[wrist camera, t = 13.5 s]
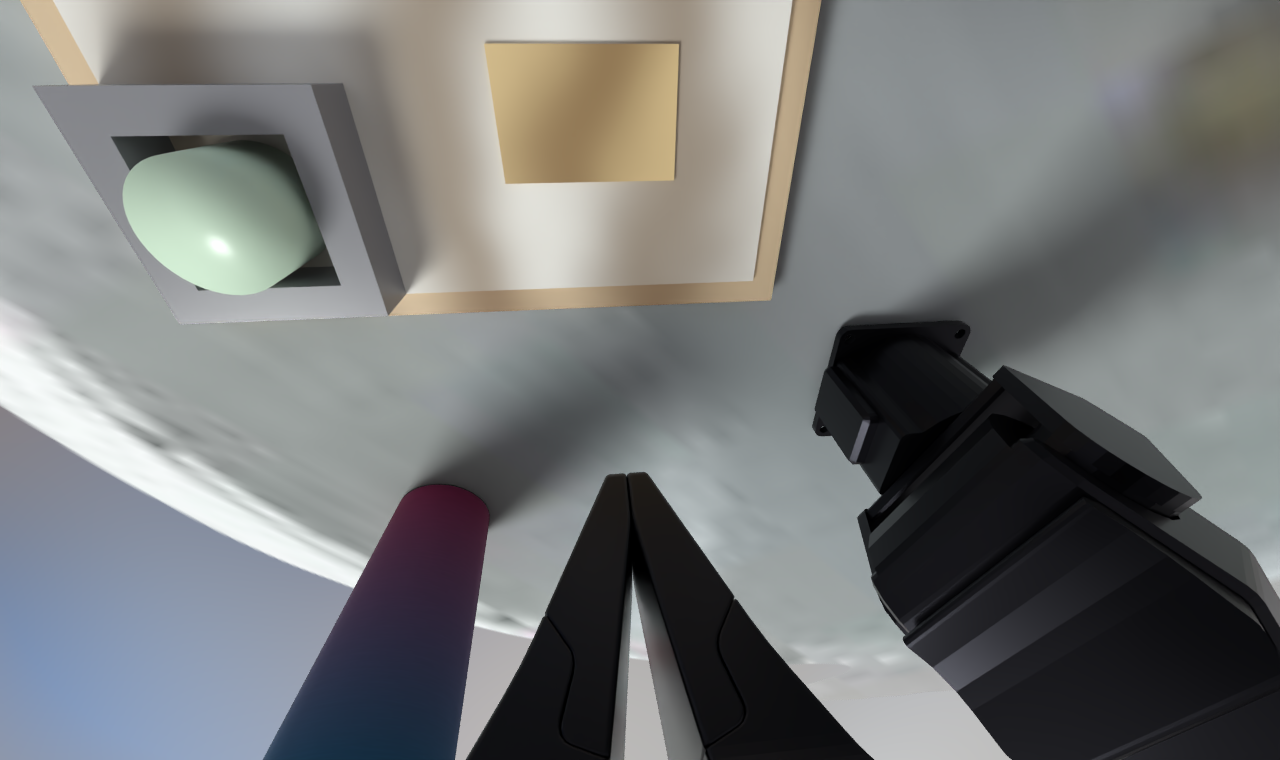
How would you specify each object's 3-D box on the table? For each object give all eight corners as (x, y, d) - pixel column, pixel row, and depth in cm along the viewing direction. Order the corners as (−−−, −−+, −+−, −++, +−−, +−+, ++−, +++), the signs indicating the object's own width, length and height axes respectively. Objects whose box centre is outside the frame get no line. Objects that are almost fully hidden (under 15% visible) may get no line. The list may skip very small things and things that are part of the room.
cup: (353, 502, 26) (129, 911, 13) (453, 454, 24) (311, 855, 12) (437, 565, 29) (325, 931, 17) (528, 525, 28) (479, 890, 15)
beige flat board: (907, -604, 10) (940, -674, 9) (765, 292, 21) (773, 303, 20) (-369, -747, 8) (-494, -853, 7) (220, 314, 19) (201, 326, 18)
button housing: (342, 83, 14) (310, 84, 13) (406, 293, 18) (388, 315, 17) (98, 84, 14) (32, 85, 12) (217, 300, 18) (179, 324, 16)
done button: (306, 139, 15) (249, 152, 12) (350, 260, 17) (309, 292, 15) (172, 140, 15) (87, 154, 12) (235, 264, 17) (173, 297, 14)
